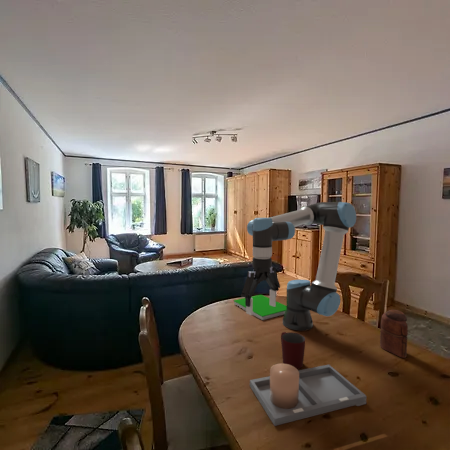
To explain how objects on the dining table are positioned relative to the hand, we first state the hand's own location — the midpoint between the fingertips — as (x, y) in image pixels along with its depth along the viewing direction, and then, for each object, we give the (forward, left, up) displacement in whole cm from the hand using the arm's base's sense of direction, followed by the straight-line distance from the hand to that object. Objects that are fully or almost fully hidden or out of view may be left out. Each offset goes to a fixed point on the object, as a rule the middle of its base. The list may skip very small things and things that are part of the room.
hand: (261, 309), depth 112 cm
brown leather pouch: (-57, +11, -20) cm, 62 cm away
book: (-24, -50, -21) cm, 59 cm away
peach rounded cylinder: (+3, +24, -20) cm, 31 cm away
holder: (-5, +24, -20) cm, 32 cm away
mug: (-10, +6, -20) cm, 24 cm away
